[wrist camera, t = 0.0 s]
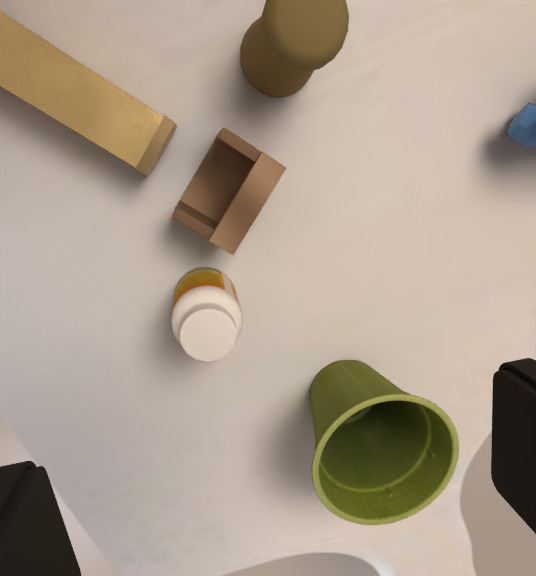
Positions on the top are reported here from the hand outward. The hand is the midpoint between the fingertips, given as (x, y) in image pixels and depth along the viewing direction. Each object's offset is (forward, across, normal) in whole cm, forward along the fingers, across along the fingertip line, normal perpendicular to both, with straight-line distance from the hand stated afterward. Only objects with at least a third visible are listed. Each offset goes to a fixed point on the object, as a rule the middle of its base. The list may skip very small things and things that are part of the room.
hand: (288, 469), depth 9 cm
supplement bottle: (+31, +2, +6) cm, 32 cm away
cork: (+31, -7, -13) cm, 35 cm away
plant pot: (+31, -10, +18) cm, 38 cm away
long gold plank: (+31, +12, -15) cm, 37 cm away
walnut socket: (+31, -1, -4) cm, 31 cm away
